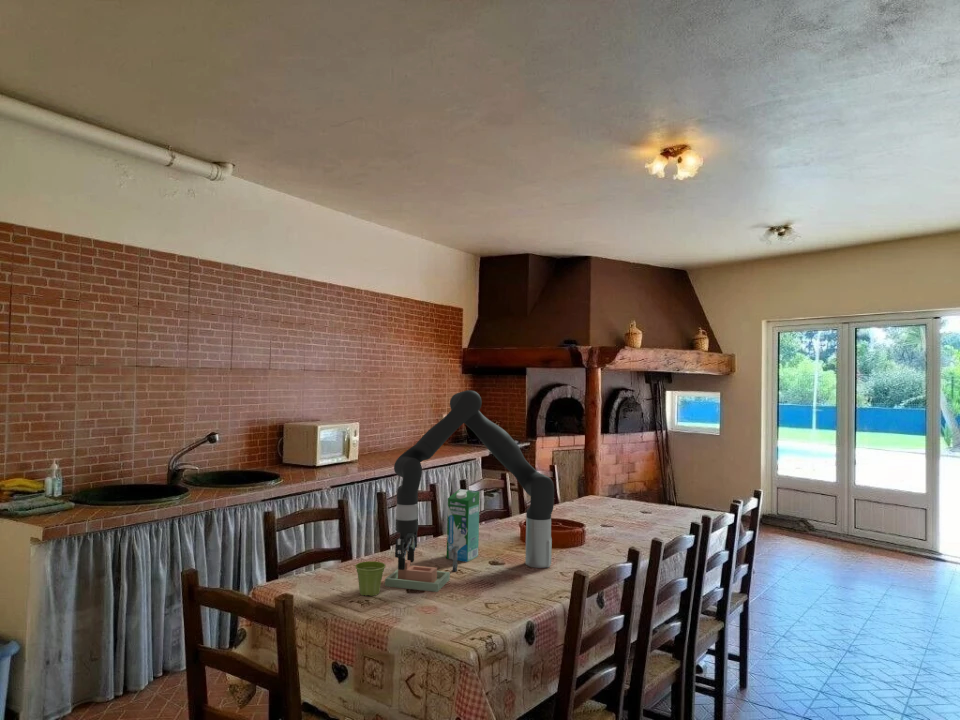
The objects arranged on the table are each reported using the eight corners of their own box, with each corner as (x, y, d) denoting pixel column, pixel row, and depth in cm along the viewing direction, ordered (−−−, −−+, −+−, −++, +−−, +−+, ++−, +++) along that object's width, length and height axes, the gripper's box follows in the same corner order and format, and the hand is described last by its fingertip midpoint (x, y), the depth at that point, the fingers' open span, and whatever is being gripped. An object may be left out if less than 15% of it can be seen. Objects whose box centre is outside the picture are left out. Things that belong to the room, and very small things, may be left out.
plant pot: (371, 586, 201) (371, 559, 201) (391, 592, 195) (391, 565, 195) (348, 593, 193) (349, 565, 194) (368, 600, 187) (368, 571, 188)
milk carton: (446, 558, 234) (447, 492, 234) (458, 552, 242) (459, 488, 242) (467, 562, 229) (468, 494, 230) (478, 556, 237) (479, 490, 238)
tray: (449, 579, 209) (449, 572, 209) (437, 591, 196) (437, 584, 196) (399, 574, 213) (400, 567, 213) (385, 586, 201) (385, 578, 201)
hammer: (458, 569, 221) (459, 546, 221) (455, 573, 216) (455, 549, 216) (454, 568, 221) (455, 545, 221) (450, 572, 216) (451, 549, 217)
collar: (436, 579, 206) (437, 561, 207) (431, 585, 201) (431, 566, 201) (402, 576, 209) (402, 558, 209) (396, 581, 204) (396, 563, 204)
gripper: (410, 522, 199) (409, 573, 198) (424, 513, 213) (423, 560, 212) (388, 520, 201) (387, 571, 200) (404, 511, 215) (403, 558, 214)
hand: (406, 565), depth 206 cm, fingers open, 8 cm apart
